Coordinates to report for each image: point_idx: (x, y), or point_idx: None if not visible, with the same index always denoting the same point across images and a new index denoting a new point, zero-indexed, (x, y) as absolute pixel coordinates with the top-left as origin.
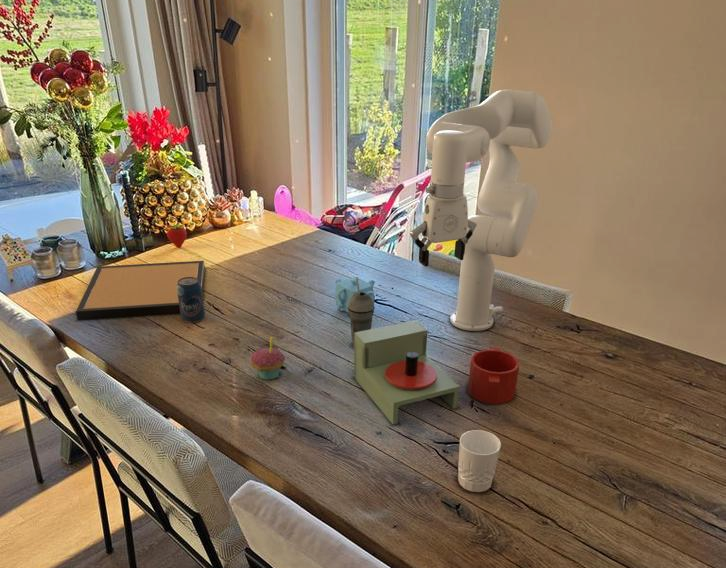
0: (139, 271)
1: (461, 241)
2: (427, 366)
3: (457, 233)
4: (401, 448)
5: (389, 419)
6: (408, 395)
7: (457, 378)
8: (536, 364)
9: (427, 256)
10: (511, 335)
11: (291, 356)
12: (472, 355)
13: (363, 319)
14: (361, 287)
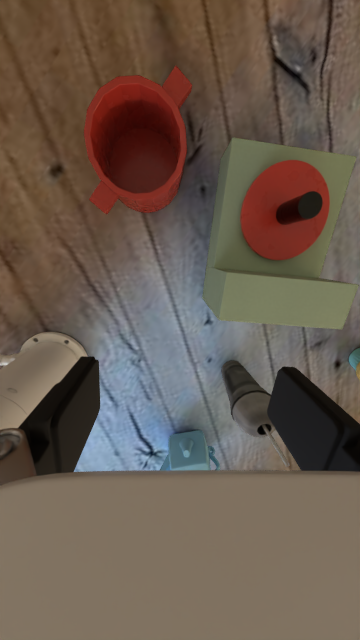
0: None
1: (36, 462)
2: (248, 218)
3: (103, 606)
4: (354, 109)
5: None
6: (323, 163)
7: (169, 233)
8: (24, 200)
9: (326, 398)
10: (16, 300)
11: (314, 381)
12: (164, 191)
13: (256, 385)
14: (189, 469)
